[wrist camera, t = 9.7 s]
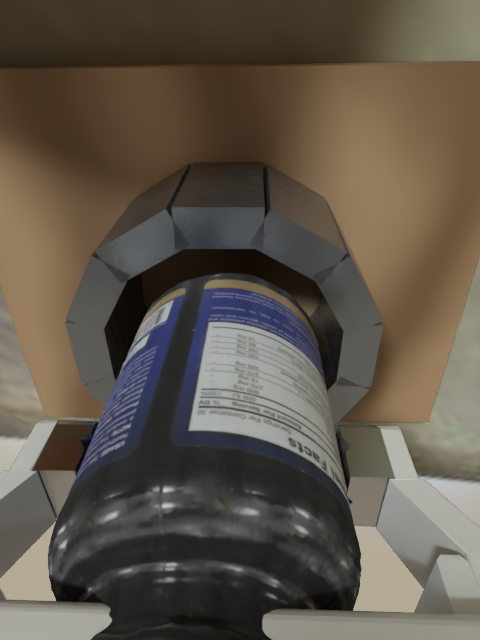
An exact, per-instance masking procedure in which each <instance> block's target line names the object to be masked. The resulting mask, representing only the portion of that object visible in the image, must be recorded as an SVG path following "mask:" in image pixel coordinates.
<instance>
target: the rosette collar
mask: <svg viewBox="0 0 480 640" xmlns="http://www.w3.org/2000/svg"><path fill="white" fill-rule="evenodd" d="M182 249H257V250H258V251H260V252H262V253H264V254H266V255H268V256H269V257H271V258H273V259H275V260H277V261H279V262H281V263H282V264H284V265H286V266H288V267H290V268H292V269H294V270H295V271H297V272H299V273H301V274H303V275H305V276H307V277H308V278H310V279H312V280H314V281H316V283H317V285H318V287H319V288H320V300H319V306H318V307H317V308H316V310H315V311H314V312H313V313H312V315H311V316H310V317H309V318H310V321H311V323H312V326H313V328H314V331H315V334H316V338H317V342H318V347H319V353H320V358H321V363H322V368H323V373H324V378H325V383H326V389H327V394H328V399H329V404H330V409H331V414H332V419H333V424H334V426H335V425H336V424H337V423H338V422H339V421H340V420H341V419H342V418H343V417H344V416H345V415H346V414H347V413H348V412H349V411H350V409H351V408H352V407H353V406H354V405H355V404H356V403H357V402H358V401H359V400H360V399H361V398H362V397H363V396H364V395H365V394H366V393H367V392H368V391H369V388H368V387H371V386H372V381H373V376H374V371H375V366H376V361H377V356H378V350H379V345H380V340H381V335H382V330H383V323H382V321H383V320H382V318H381V316H380V313H379V311H378V309H377V307H376V304H375V302H374V300H373V298H372V295H371V293H370V291H369V288H368V286H367V284H366V282H365V279H364V277H363V275H362V273H361V270H360V268H359V266H358V264H357V261H356V259H355V257H354V254H353V252H352V250H351V248H350V246H349V244H348V242H347V240H346V238H345V236H344V234H343V232H342V230H341V228H340V226H339V224H338V222H337V220H336V218H335V216H334V214H333V212H332V210H331V208H330V206H329V203H328V201H325V198H324V197H323V196H321V195H320V194H318V193H316V192H315V191H313V190H311V189H310V188H308V187H306V186H305V185H303V184H301V183H300V182H298V181H296V180H295V179H293V178H291V177H290V176H288V175H286V174H285V173H283V172H281V171H280V170H278V169H276V168H275V167H273V166H271V165H270V164H268V163H267V164H266V166H265V167H264V169H263V162H193V164H192V166H190V164H187V165H186V166H184V167H182V168H181V169H179V170H178V171H176V172H174V173H173V174H171V175H170V176H168V177H167V178H165V179H163V180H162V181H160V182H159V183H157V184H155V185H154V186H152V187H151V188H149V189H147V190H146V191H144V192H143V193H141V194H140V195H138V196H136V197H135V198H134V199H133V201H131V203H130V204H129V205H128V207H127V208H126V210H125V211H124V212H123V214H122V215H121V216H120V218H119V219H118V220H117V222H116V223H115V224H114V226H113V227H112V228H111V230H110V231H109V232H108V234H107V235H106V236H105V238H104V239H103V240H102V242H101V243H100V244H99V246H98V247H97V248H96V250H95V251H94V253H93V254H92V255H91V257H90V260H89V262H88V265H87V267H86V269H85V272H84V274H83V277H82V279H81V282H80V284H79V286H78V289H77V291H76V294H75V296H74V299H73V301H72V303H71V306H70V308H69V311H68V313H67V316H66V318H65V319H67V321H66V322H65V325H66V328H67V332H68V336H69V339H70V343H71V347H72V350H73V354H74V358H75V362H76V365H77V369H78V373H79V376H80V380H81V383H85V385H84V388H85V389H86V390H87V391H88V392H89V393H90V394H91V395H92V396H93V397H94V398H95V399H96V400H97V401H98V402H99V403H101V404H102V405H103V406H104V407H106V404H107V402H108V399H109V397H110V395H111V393H112V390H113V388H114V385H115V383H116V380H117V378H118V376H119V374H120V371H121V369H122V366H123V363H124V361H125V360H126V357H127V355H128V353H129V350H130V348H131V346H132V343H133V341H134V339H135V336H136V334H137V332H138V329H139V327H140V325H141V323H142V321H143V319H144V317H145V315H146V313H147V312H148V310H149V308H148V307H147V306H146V304H145V300H144V293H143V287H142V280H141V272H143V271H145V270H147V269H149V268H150V267H152V266H154V265H156V264H157V263H159V262H161V261H163V260H165V259H166V258H168V257H170V256H172V255H174V254H175V253H177V252H179V251H181V250H182Z"/></svg>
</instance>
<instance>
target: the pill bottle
mask: <svg viewBox="0 0 480 640" xmlns="http://www.w3.org/2000/svg"><path fill="white" fill-rule="evenodd" d="M360 558H361V553H360V548H359V542H358V539H357V536H356V532H355V528H354V523H353V518H352V514H351V507H350V503H349V499H348V494H347V487H346V484H345V479H344V474H343V469H342V465H341V459H340V454H339V449H338V445H337V439H336V434H335V429H334V424H333V419H332V414H331V409H330V404H329V399H328V394H327V389H326V383H325V378H324V373H323V368H322V363H321V358H320V353H319V347H318V342H317V338H316V334H315V331H314V328H313V326H312V323H311V321H310V318H309V316H308V315H307V313H306V312H305V311H304V310H303V308H302V307H301V306H300V305H299V303H298V302H297V301H296V300H295V299H294V298H293V297H292V296H291V295H290V294H288V293H287V292H286V291H284V290H283V289H281V288H280V287H278V286H276V285H274V284H272V283H270V282H268V281H266V280H263V279H261V278H258V277H256V276H252V275H247V274H239V273H217V274H213V275H204V276H200V277H196V278H192V279H189V280H186V281H184V282H181V283H179V284H177V285H176V286H174V287H172V288H171V289H169V290H167V291H166V292H165V293H164V294H163V295H162V296H160V297H159V298H158V299H157V300H156V301H155V302H154V303H153V304H152V305H151V307H150V308H149V310H148V312H147V313H146V315H145V317H144V319H143V321H142V323H141V325H140V327H139V329H138V332H137V334H136V336H135V339H134V341H133V343H132V346H131V348H130V350H129V353H128V355H127V357H126V360H125V361H124V363H123V366H122V369H121V371H120V374H119V376H118V378H117V380H116V383H115V385H114V388H113V390H112V393H111V395H110V397H109V399H108V402H107V404H106V407H105V409H104V411H103V414H102V416H101V419H100V421H99V423H98V426H97V428H96V430H95V433H94V435H93V438H92V440H91V443H90V445H89V447H88V450H87V452H86V455H85V457H84V459H83V462H82V464H81V466H80V469H79V471H78V473H77V475H76V478H75V480H74V483H73V485H72V487H71V490H70V492H69V494H68V497H67V499H66V501H65V503H64V505H63V507H62V509H61V511H60V513H59V515H58V518H57V521H56V523H55V526H54V529H53V533H52V537H51V542H50V546H49V554H48V565H49V566H48V567H49V578H50V582H51V588H52V591H53V593H54V596H55V598H56V601H60V602H91V603H104V604H106V605H107V606H108V607H110V609H111V610H110V612H109V616H110V617H111V619H112V622H111V623H110V625H109V626H108V627H107V628H105V629H104V630H102V631H101V632H99V633H98V634H96V635H95V636H94V637H93V638H92V639H91V640H272V639H271V638H269V637H268V636H266V634H265V633H264V632H263V630H262V619H263V616H264V615H265V614H267V613H269V612H271V611H272V610H277V609H310V610H341V611H353V608H354V605H355V602H356V598H357V595H358V592H359V587H360V576H361V575H360V573H361V565H360Z"/></svg>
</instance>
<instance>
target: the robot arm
mask: <svg viewBox="0 0 480 640" xmlns="http://www.w3.org/2000/svg"><path fill="white" fill-rule="evenodd" d="M98 423H99V422H97V421H73V420H40V421H39V422H38V423H37V424H36V425H35V427H34V429H33V430H32V432H31V434H30V435H29V437H28V439H27V441H26V442H25V444H24V446H23V448H22V449H21V451H20V453H19V455H18V456H17V458H16V460H15V461H14V463H13V465H12V467H11V469H10V470H5V471H2V472H1V473H0V578H1V577H2V576H3V575H4V574H5V573H6V571H8V570H9V568H10V567H11V566H12V565H13V564H14V563H15V562H16V561H17V560H18V559H19V558H20V557H21V556H22V555H23V554H24V553H25V552H26V551H27V550H28V549H29V548H30V547H31V546H32V545H33V544H34V543H35V542H36V541H37V540H38V539H39V538H40V537H41V536H42V534H44V533H45V532H46V531H47V529H48V528H49V527H50V526H51V525H52V524H53V523H54V522H55V521H56V518H58V515H59V513H60V511H61V509H62V507H63V505H64V503H65V501H66V499H67V497H68V494H69V492H70V490H71V487H72V485H73V483H74V480H75V478H76V475H77V473H78V471H79V469H80V466H81V464H82V462H83V459H84V457H85V455H86V452H87V450H88V447H89V445H90V443H91V440H92V438H93V435H94V433H95V430H96V428H97V426H98ZM336 439H337V445H338V449H339V454H340V459H341V465H342V469H343V474H344V479H345V484H346V487H347V494H348V499H349V503H350V507H351V514H352V518H353V523H354V526H373V527H376V529H377V530H378V531H379V533H380V534H381V535H382V536H383V538H384V539H385V540H386V541H387V543H388V544H389V545H390V547H391V548H392V549H393V550H394V551H395V553H396V554H397V555H398V557H399V558H400V559H401V561H402V562H403V563H404V564H405V566H406V567H407V568H408V569H409V571H410V572H411V573H412V574H413V576H414V577H415V578H416V580H417V581H418V582H419V583H420V585H421V586H422V587H423V588H424V591H423V593H422V596H421V598H420V600H419V603H418V605H417V607H416V610H415V612H414V613H402V612H371V611H341V610H310V609H277V610H272V611H271V612H269V613H267V614H265V615H264V616H263V619H262V630H263V632H264V633H265V634H266V636H268V637H269V638H271V639H272V640H480V527H479V526H478V525H476V524H475V523H474V522H473V521H472V520H471V519H470V518H468V517H467V516H466V515H465V514H464V513H463V512H462V511H460V510H459V509H458V508H457V507H456V506H455V505H453V504H452V503H451V502H450V501H449V500H448V499H447V498H446V497H444V496H443V495H442V494H441V493H440V492H439V491H438V490H436V489H435V488H434V487H433V486H432V485H431V484H429V483H428V482H427V481H426V480H421V479H419V478H418V475H417V473H416V470H415V467H414V464H413V462H412V459H411V456H410V454H409V451H408V448H407V445H406V443H405V440H404V437H403V435H402V432H401V429H400V428H399V427H398V426H358V425H338V427H337V429H336ZM110 610H111V609H110V607H108V606H107V605H106V604H104V603H91V602H60V601H28V600H7V599H6V597H5V595H4V594H3V592H2V591H1V589H0V640H91V639H92V638H93V637H94V636H95V635H96V634H98V633H99V632H101V631H102V630H104V629H105V628H107V627H108V626H109V625H110V623H111V622H112V619H111V617H110V616H109V612H110Z"/></svg>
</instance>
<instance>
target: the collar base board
mask: <svg viewBox="0 0 480 640" xmlns="http://www.w3.org/2000/svg"><path fill="white" fill-rule="evenodd" d="M193 162H263V169H264V167H265V166H266V164H267V163H268V164H270V165H271V166H273V167H275V168H276V169H278V170H280V171H281V172H283V173H285V174H286V175H288V176H290V177H291V178H293V179H295V180H296V181H298V182H300V183H301V184H303V185H305V186H306V187H308V188H310V189H311V190H313V191H315V192H316V193H318V194H320V195H321V196H323V197H324V198H325V201H328V203H329V206H330V208H331V210H332V212H333V214H334V216H335V218H336V220H337V222H338V224H339V226H340V228H341V230H342V232H343V234H344V236H345V238H346V240H347V242H348V244H349V246H350V248H351V250H352V252H353V254H354V257H355V259H356V261H357V264H358V266H359V268H360V270H361V273H362V275H363V277H364V279H365V282H366V284H367V286H368V288H369V291H370V293H371V295H372V298H373V300H374V302H375V304H376V307H377V309H378V311H379V313H380V316H381V318H382V320H383V321H382V323H383V330H382V335H381V340H380V345H379V350H378V356H377V361H376V366H375V371H374V376H373V381H372V386H371V387H368V388H369V391H368V392H367V393H366V394H365V395H364V396H363V397H362V398H361V399H360V400H359V401H358V402H357V403H356V404H355V405H354V406H353V407H352V408H351V409H350V411H349V412H348V413H347V414H346V415H345V416H344V417H343V418H342V419H341V420H340V421H389V422H428V421H429V418H430V415H431V411H432V408H433V405H434V402H435V398H436V395H437V392H438V389H439V386H440V382H441V379H442V376H443V373H444V369H445V366H446V363H447V360H448V356H449V353H450V350H451V347H452V344H453V340H454V337H455V334H456V331H457V327H458V324H459V321H460V318H461V314H462V311H463V308H464V305H465V302H466V298H467V295H468V292H469V289H470V285H471V282H472V279H473V276H474V272H475V269H476V266H477V263H478V260H479V256H480V61H462V62H368V63H275V64H181V65H87V66H0V286H1V289H2V292H3V295H4V298H5V301H6V303H7V306H8V309H9V312H10V315H11V318H12V321H13V324H14V327H15V329H16V332H17V335H18V338H19V341H20V344H21V347H22V350H23V353H24V355H25V358H26V361H27V364H28V367H29V370H30V373H31V376H32V378H33V381H34V384H35V387H36V390H37V393H38V396H39V399H40V402H41V404H42V407H43V410H44V413H45V416H51V417H101V416H102V414H103V411H104V409H105V407H104V406H103V405H102V404H101V403H99V402H98V401H97V400H96V399H95V398H94V397H93V396H92V395H91V394H90V393H89V392H88V391H87V390H86V389H85V388H84V385H85V383H81V380H80V376H79V373H78V369H77V365H76V362H75V358H74V354H73V350H72V347H71V343H70V339H69V336H68V332H67V328H66V325H65V322H66V321H67V319H65V318H66V316H67V313H68V311H69V308H70V306H71V303H72V301H73V299H74V296H75V294H76V291H77V289H78V286H79V284H80V282H81V279H82V277H83V274H84V272H85V269H86V267H87V265H88V262H89V260H90V257H91V255H92V254H93V253H94V251H95V250H96V248H97V247H98V246H99V244H100V243H101V242H102V240H103V239H104V238H105V236H106V235H107V234H108V232H109V231H110V230H111V228H112V227H113V226H114V224H115V223H116V222H117V220H118V219H119V218H120V216H121V215H122V214H123V212H124V211H125V210H126V208H127V207H128V205H129V204H130V203H131V201H133V199H134V198H135V197H136V196H138V195H140V194H141V193H143V192H144V191H146V190H147V189H149V188H151V187H152V186H154V185H155V184H157V183H159V182H160V181H162V180H163V179H165V178H167V177H168V176H170V175H171V174H173V173H174V172H176V171H178V170H179V169H181V168H182V167H184V166H186V165H187V164H190V166H192V164H193ZM217 273H239V274H247V275H252V276H256V277H258V278H261V279H263V280H266V281H268V282H270V283H272V284H274V285H276V286H278V287H280V288H281V289H283V290H284V291H286V292H287V293H288V294H290V295H291V296H292V297H293V298H294V299H295V300H296V301H297V302H298V303H299V305H300V306H301V307H302V308H303V310H304V311H305V312H306V313H307V315H308V316H309V317H310V316H311V315H312V313H313V312H314V311H315V310H316V308H317V307H318V306H319V300H320V288H319V287H318V285H317V283H316V281H314V280H312V279H310V278H308V277H307V276H305V275H303V274H301V273H299V272H297V271H295V270H294V269H292V268H290V267H288V266H286V265H284V264H282V263H281V262H279V261H277V260H275V259H273V258H271V257H269V256H268V255H266V254H264V253H262V252H260V251H258V250H257V249H182V250H181V251H179V252H177V253H175V254H174V255H172V256H170V257H168V258H166V259H165V260H163V261H161V262H159V263H157V264H156V265H154V266H152V267H150V268H149V269H147V270H145V271H143V272H141V280H142V287H143V293H144V300H145V304H146V306H147V307H148V308H150V307H151V305H152V304H153V303H154V302H155V301H156V300H157V299H158V298H159V297H160V296H162V295H163V294H164V293H165V292H166V291H167V290H169V289H171V288H172V287H174V286H176V285H177V284H179V283H181V282H184V281H186V280H189V279H192V278H196V277H200V276H204V275H213V274H217Z"/></svg>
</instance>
